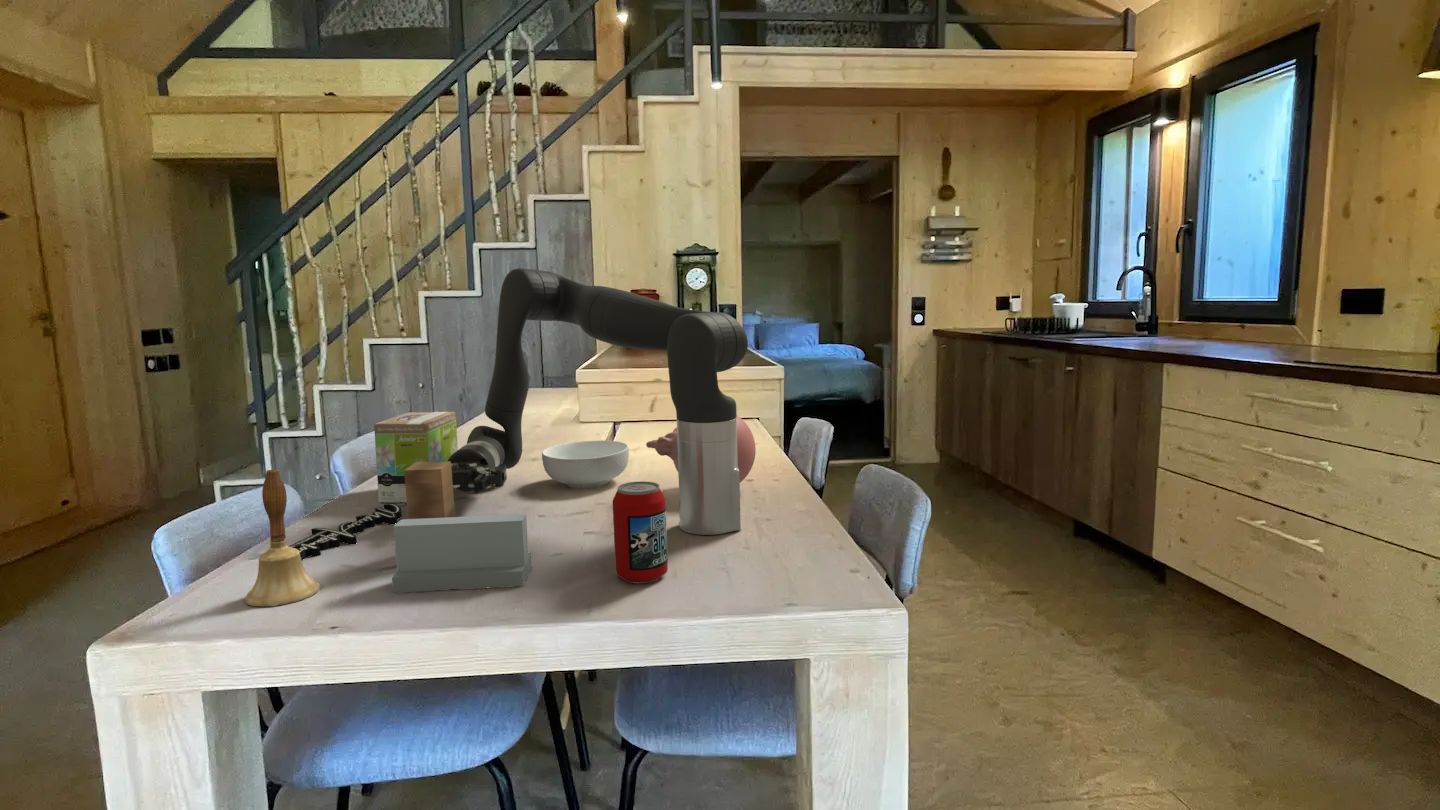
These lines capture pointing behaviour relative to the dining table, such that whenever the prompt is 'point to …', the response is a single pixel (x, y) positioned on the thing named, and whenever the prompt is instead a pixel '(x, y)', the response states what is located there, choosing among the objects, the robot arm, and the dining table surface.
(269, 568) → the hand bell
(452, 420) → the tea box
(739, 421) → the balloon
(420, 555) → the ridge
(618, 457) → the cereal bowl
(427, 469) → the walnut post
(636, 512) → the beverage can
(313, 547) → the nameplate
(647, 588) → the dining table surface
